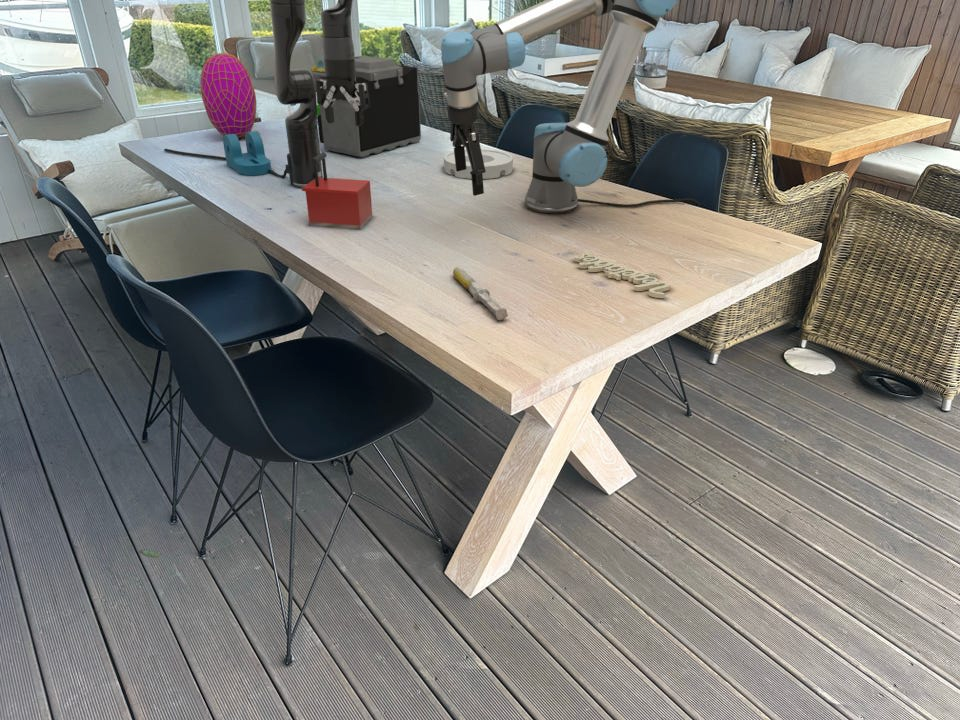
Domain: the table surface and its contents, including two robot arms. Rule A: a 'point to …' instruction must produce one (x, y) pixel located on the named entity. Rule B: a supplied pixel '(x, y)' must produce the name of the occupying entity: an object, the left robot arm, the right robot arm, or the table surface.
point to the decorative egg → (228, 95)
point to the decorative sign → (625, 274)
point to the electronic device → (375, 110)
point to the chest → (339, 209)
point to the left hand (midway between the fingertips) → (345, 124)
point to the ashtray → (493, 163)
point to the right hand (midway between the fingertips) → (469, 181)
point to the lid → (333, 181)
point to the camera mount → (246, 154)
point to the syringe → (479, 293)
